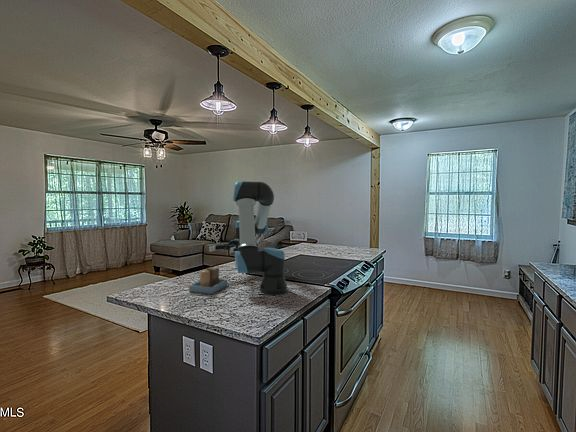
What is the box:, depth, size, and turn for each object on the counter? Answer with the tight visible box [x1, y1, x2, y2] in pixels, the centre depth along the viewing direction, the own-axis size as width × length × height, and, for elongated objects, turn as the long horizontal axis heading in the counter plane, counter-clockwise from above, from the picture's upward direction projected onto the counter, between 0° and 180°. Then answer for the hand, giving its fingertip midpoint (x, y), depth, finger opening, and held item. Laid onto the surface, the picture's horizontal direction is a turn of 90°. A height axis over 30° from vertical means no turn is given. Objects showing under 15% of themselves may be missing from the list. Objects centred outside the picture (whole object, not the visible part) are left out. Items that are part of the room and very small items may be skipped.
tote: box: [188, 278, 228, 295], centre depth 176 cm, size 14×18×4 cm
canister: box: [199, 269, 210, 287], centre depth 171 cm, size 5×5×10 cm
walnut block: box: [206, 266, 220, 287], centre depth 179 cm, size 5×5×10 cm
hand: (220, 250), depth 187 cm, fingers open, 13 cm apart
